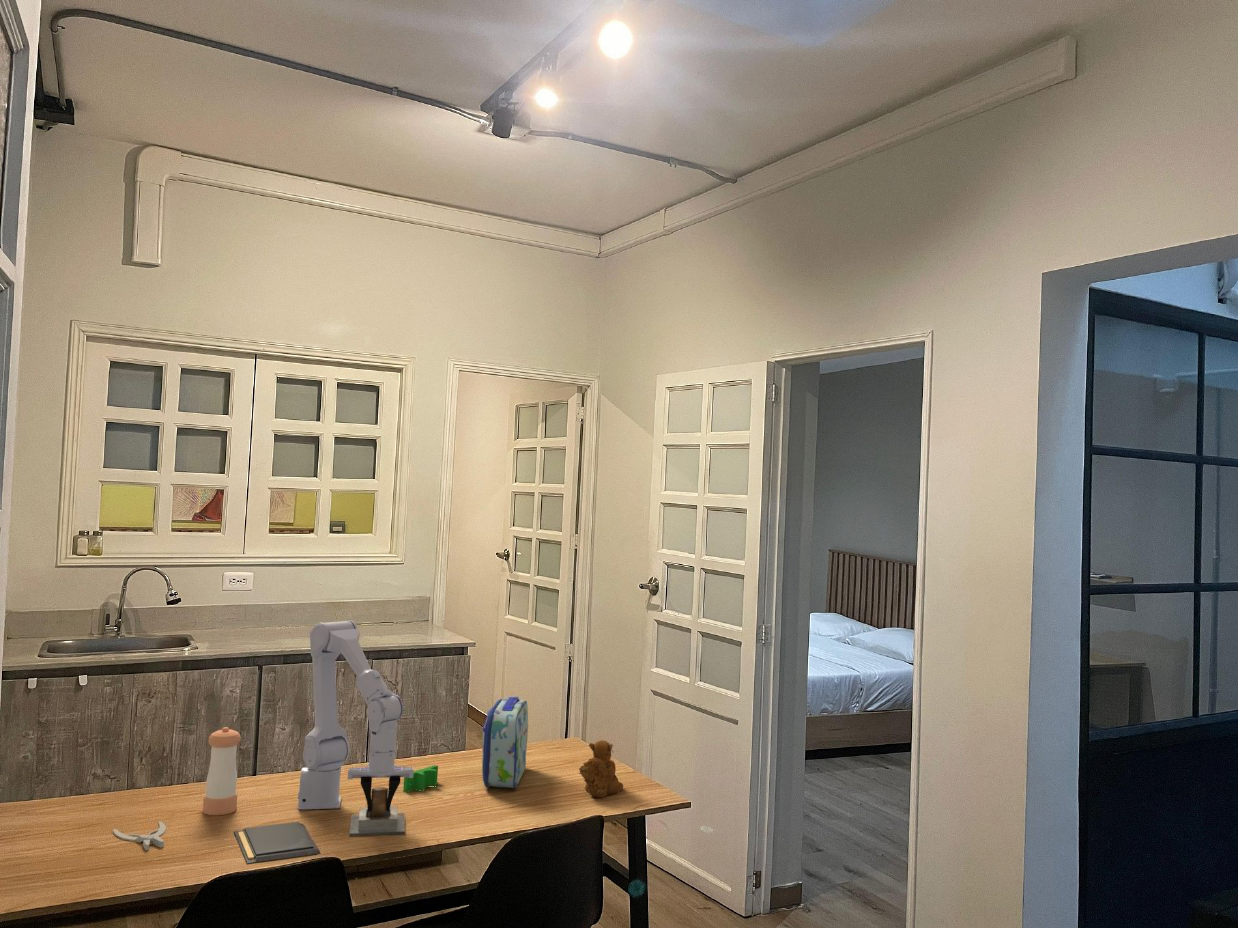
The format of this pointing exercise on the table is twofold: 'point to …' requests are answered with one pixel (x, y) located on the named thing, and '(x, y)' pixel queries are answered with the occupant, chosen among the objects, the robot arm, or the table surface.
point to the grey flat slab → (275, 842)
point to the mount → (377, 823)
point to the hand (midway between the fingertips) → (378, 809)
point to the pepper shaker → (222, 773)
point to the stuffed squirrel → (600, 771)
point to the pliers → (145, 837)
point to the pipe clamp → (421, 779)
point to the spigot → (379, 802)
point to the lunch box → (505, 743)
